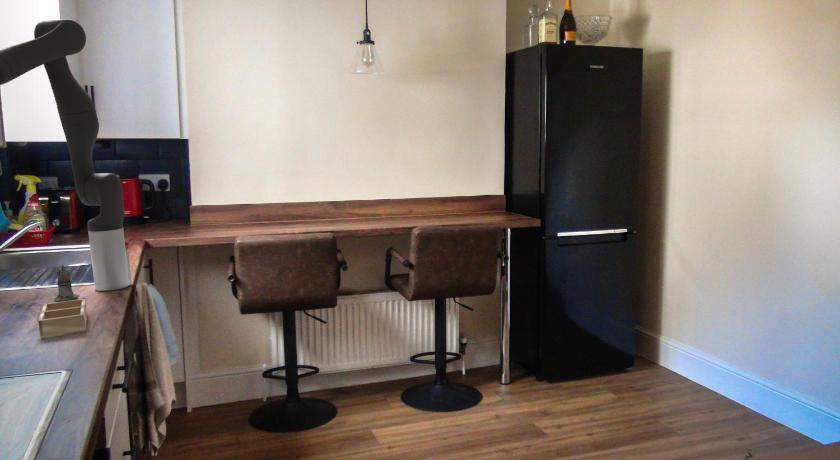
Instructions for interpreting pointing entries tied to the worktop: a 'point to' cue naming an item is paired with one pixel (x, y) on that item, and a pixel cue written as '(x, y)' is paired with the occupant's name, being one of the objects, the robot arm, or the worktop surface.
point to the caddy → (63, 318)
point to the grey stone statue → (64, 286)
